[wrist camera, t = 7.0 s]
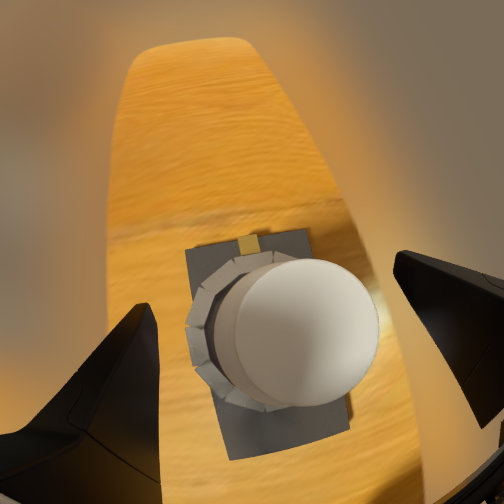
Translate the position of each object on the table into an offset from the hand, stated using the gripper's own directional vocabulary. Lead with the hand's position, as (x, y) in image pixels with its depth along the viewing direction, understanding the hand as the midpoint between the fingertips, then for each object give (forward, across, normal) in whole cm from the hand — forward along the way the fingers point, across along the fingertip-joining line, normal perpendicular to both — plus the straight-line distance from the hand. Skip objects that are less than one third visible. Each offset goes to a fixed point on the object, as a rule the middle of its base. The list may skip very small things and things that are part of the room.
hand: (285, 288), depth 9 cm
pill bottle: (+4, 0, +7) cm, 8 cm away
